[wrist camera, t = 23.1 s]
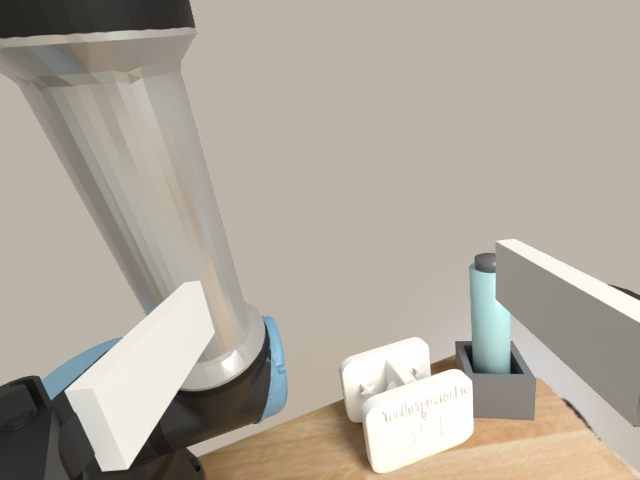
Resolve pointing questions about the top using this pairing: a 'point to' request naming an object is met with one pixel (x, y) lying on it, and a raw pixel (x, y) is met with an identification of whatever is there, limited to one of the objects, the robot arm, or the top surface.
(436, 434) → the white piece
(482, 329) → the teal bottle
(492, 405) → the block
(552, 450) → the top surface
